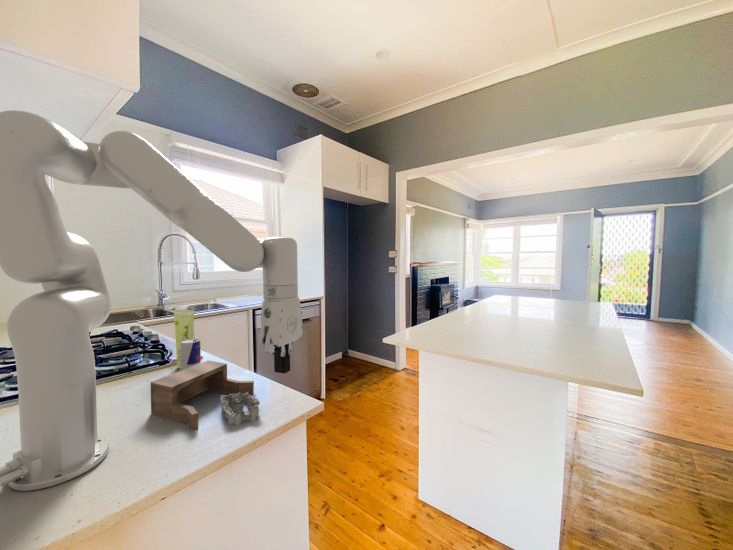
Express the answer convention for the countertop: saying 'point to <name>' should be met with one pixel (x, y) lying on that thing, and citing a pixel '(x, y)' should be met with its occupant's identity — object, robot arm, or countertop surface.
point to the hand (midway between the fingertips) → (282, 371)
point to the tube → (183, 328)
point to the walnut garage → (192, 390)
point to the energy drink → (189, 353)
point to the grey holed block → (239, 407)
